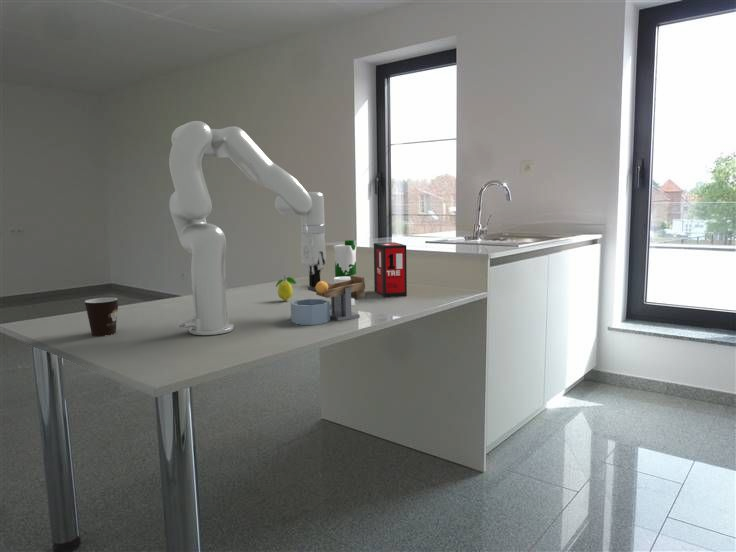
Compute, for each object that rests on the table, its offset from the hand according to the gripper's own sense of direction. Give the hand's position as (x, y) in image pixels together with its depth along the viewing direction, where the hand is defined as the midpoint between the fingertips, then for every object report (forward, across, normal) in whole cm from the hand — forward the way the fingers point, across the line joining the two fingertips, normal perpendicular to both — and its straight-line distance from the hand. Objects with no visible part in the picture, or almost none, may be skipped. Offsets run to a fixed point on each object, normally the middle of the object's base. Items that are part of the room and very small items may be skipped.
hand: (315, 285), depth 185 cm
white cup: (+10, -10, +16) cm, 22 cm away
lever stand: (+10, +8, +6) cm, 14 cm away
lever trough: (+5, +4, +6) cm, 9 cm away
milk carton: (+10, -52, +40) cm, 66 cm away
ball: (0, +8, -1) cm, 8 cm away
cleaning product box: (+10, -20, +44) cm, 49 cm away
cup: (+10, +8, -6) cm, 13 cm away
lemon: (+10, -30, +2) cm, 32 cm away
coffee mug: (+10, -14, -62) cm, 64 cm away
